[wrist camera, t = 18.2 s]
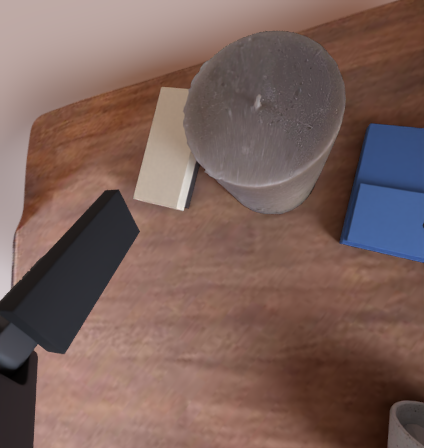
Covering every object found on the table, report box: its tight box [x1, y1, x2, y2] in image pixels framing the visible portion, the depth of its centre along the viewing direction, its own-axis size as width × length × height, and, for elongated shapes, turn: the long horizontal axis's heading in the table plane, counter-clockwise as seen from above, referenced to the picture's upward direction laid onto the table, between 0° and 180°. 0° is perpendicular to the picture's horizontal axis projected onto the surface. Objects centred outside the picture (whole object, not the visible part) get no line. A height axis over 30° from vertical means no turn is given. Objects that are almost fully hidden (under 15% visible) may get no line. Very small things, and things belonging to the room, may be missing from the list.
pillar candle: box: [183, 31, 346, 214], centre depth 21 cm, size 10×10×15 cm
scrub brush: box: [133, 87, 200, 211], centre depth 29 cm, size 6×13×4 cm, turn 166°
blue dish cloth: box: [339, 123, 424, 263], centre depth 24 cm, size 9×12×2 cm
